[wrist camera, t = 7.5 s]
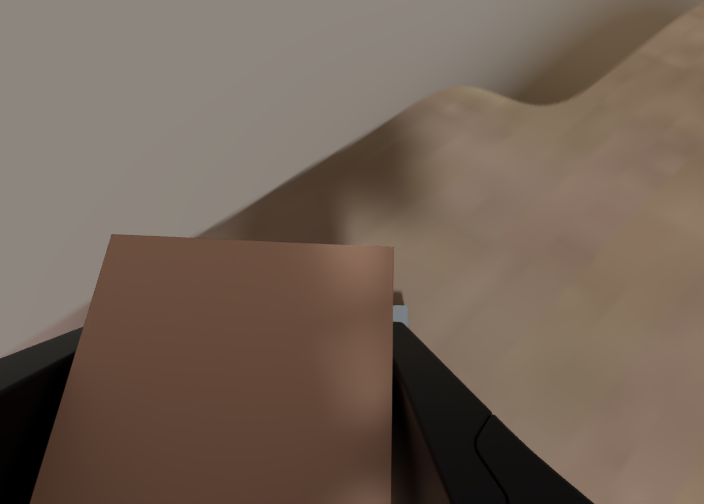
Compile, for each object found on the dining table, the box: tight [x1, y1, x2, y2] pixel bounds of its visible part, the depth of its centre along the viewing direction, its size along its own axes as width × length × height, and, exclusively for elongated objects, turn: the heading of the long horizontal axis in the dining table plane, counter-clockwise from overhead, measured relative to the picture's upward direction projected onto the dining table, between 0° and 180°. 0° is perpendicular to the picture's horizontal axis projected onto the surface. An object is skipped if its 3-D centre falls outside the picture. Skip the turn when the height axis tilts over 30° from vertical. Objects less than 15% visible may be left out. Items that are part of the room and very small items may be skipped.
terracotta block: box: [30, 234, 394, 504], centre depth 10 cm, size 5×5×9 cm
